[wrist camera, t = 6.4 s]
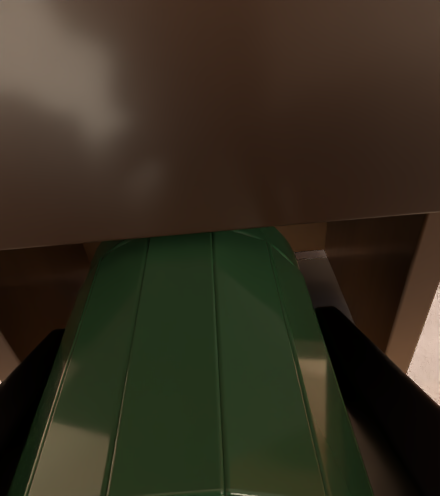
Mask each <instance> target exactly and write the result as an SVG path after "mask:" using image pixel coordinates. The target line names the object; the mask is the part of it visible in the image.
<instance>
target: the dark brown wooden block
mask: <svg viewBox="0 0 440 496" xmlns="http://www.w3.org/2000/svg"><path fill="white" fill-rule="evenodd" d="M435 212H440V0H0V250H11V249H22V248H34V247H45V246H57V245H68V244H80V243H91V242H103V241H114V240H125V239H137V238H148V237H160V236H171V235H183V234H194V233H206V232H217V231H229V230H240V229H252V228H263V227H275V226H286V225H298V224H309V223H321V222H332V221H344V220H355V219H367V218H378V217H389V216H401V215H412V214H424V213H435Z"/></svg>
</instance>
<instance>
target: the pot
mask: <svg viewBox="0 0 440 496" xmlns="http://www.w3.org/2000/svg"><path fill="white" fill-rule="evenodd" d="M7 496H374V493H373V489H372V486H371V483H370V480H369V477H368V474H367V471H366V468H365V465H364V462H363V458H362V455H361V452H360V449H359V446H358V443H357V440H356V437H355V434H354V431H353V428H352V424H351V421H350V418H349V415H348V412H347V409H346V406H345V403H344V400H343V397H342V394H341V390H340V387H339V384H338V381H337V378H336V375H335V372H334V369H333V366H332V363H331V360H330V356H329V353H328V350H327V347H326V344H325V341H324V338H323V335H322V332H321V329H320V325H319V322H318V319H317V316H316V313H315V310H314V307H313V304H312V301H311V298H310V295H309V291H308V288H307V285H306V282H305V279H304V276H303V275H302V273H301V271H300V267H299V264H298V261H297V259H296V256H295V254H294V251H293V249H292V248H291V246H290V244H289V243H288V241H287V240H286V239H285V237H284V236H283V235H282V234H281V233H280V232H279V231H278V230H277V229H276V228H275V227H263V228H252V229H240V230H229V231H217V232H206V233H194V234H183V235H171V236H160V237H148V238H137V239H125V240H114V241H103V242H101V243H100V245H99V246H98V248H97V250H96V252H95V254H94V256H93V258H92V261H91V264H90V267H89V270H88V273H87V276H86V279H85V282H84V284H83V285H82V287H81V288H80V290H79V292H78V294H77V297H76V300H75V303H74V306H73V309H72V312H71V315H70V317H69V320H68V323H67V326H66V329H65V332H64V335H63V337H62V340H61V343H60V346H59V349H58V352H57V355H56V358H55V360H54V363H53V366H52V369H51V372H50V375H49V378H48V381H47V383H46V386H45V389H44V392H43V395H42V398H41V401H40V403H39V406H38V409H37V412H36V415H35V418H34V421H33V424H32V426H31V429H30V432H29V435H28V438H27V441H26V444H25V447H24V449H23V452H22V455H21V458H20V461H19V464H18V467H17V469H16V472H15V475H14V478H13V481H12V484H11V487H10V490H9V492H8V495H7Z"/></svg>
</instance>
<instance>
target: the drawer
mask: <svg viewBox="0 0 440 496" xmlns="http://www.w3.org/2000/svg"><path fill="white" fill-rule="evenodd" d="M275 228H276V229H277V230H278V231H279V232H280V233H281V234H282V235H283V236H284V237H285V239H286V240H287V241H288V243H289V244H290V246H291V248H292V249H293V251H294V252H303V251H314V250H324V251H325V253H326V255H327V257H324V258H312V259H300V260H297V261H298V264H299V267H300V271H301V273H302V275H303V276H304V279H305V282H306V285H307V288H308V291H309V295H310V298H311V301H312V304H313V307H314V310H315V308H316V307H322V306H335V307H336V308H338V309H339V310H340V311H341V312H342V313H343V314H344V315H345V316H346V317H347V318H348V319H349V320H350V321H351V322H352V323H353V324H354V325H355V326H356V327H357V328H358V329H359V330H361V331H362V332H363V333H364V334H365V335H366V336H367V337H368V338H369V339H370V340H371V341H372V342H373V343H374V344H375V345H376V346H377V347H378V348H379V349H380V350H381V351H382V352H383V353H384V354H386V355H387V356H388V357H389V358H390V359H391V360H392V361H393V362H394V363H395V364H396V365H397V366H398V367H399V368H400V369H401V370H402V371H403V372H404V373H405V374H406V373H407V370H408V368H409V365H410V362H411V359H412V357H413V354H414V351H415V348H416V346H417V343H418V340H419V337H420V335H421V332H422V329H423V326H424V324H425V321H426V318H427V315H428V312H429V310H430V307H431V304H432V301H433V299H434V296H435V293H436V290H437V288H438V285H439V282H440V212H435V213H424V214H412V215H401V216H389V217H378V218H367V219H355V220H344V221H332V222H321V223H309V224H298V225H286V226H275ZM100 243H101V242H91V243H80V244H68V245H57V246H45V247H34V248H22V249H11V250H0V380H1V382H3V381H4V380H5V379H6V378H7V376H8V375H9V374H10V373H11V372H12V371H13V370H14V369H15V368H16V367H17V366H18V365H19V364H20V363H21V362H22V361H23V360H24V359H25V358H26V357H27V356H28V355H29V354H30V353H31V352H32V351H33V350H34V349H35V347H36V346H37V345H38V344H39V343H40V342H41V341H42V340H43V339H44V338H45V337H46V336H47V335H48V334H49V333H50V332H51V331H53V330H55V329H63V328H66V326H67V323H68V320H69V317H70V315H71V312H72V309H73V306H74V303H75V300H76V297H77V294H78V292H79V290H80V288H81V287H82V285H83V284H84V282H85V279H86V276H87V273H88V270H89V267H90V264H91V261H92V258H93V256H94V254H95V252H96V250H97V248H98V246H99V245H100Z"/></svg>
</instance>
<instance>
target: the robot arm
mask: <svg viewBox="0 0 440 496" xmlns="http://www.w3.org/2000/svg"><path fill="white" fill-rule="evenodd" d="M315 313H316V316H317V319H318V322H319V325H320V329H321V332H322V335H323V338H324V341H325V344H326V347H327V350H328V353H329V356H330V360H331V363H332V366H333V369H334V372H335V375H336V378H337V381H338V384H339V387H340V390H341V394H342V397H343V400H344V403H345V406H346V409H347V412H348V415H349V418H350V421H351V424H352V428H353V431H354V434H355V437H356V440H357V443H358V446H359V449H360V452H361V455H362V458H363V462H364V465H365V468H366V471H367V474H368V477H369V480H370V483H371V486H372V489H373V493H374V496H440V406H439V405H438V404H437V403H436V402H435V401H433V400H432V399H431V398H430V397H429V396H428V395H427V394H426V393H425V392H424V391H423V390H422V389H421V388H420V387H419V386H418V385H417V384H416V383H415V382H414V381H413V380H412V379H411V378H410V377H408V376H407V375H406V374H405V373H404V372H403V371H402V370H401V369H400V368H399V367H398V366H397V365H396V364H395V363H394V362H393V361H392V360H391V359H390V358H389V357H388V356H387V355H386V354H384V353H383V352H382V351H381V350H380V349H379V348H378V347H377V346H376V345H375V344H374V343H373V342H372V341H371V340H370V339H369V338H368V337H367V336H366V335H365V334H364V333H363V332H362V331H361V330H359V329H358V328H357V327H356V326H355V325H354V324H353V323H352V322H351V321H350V320H349V319H348V318H347V317H346V316H345V315H344V314H343V313H342V312H341V311H340V310H339V309H338V308H336V307H335V306H322V307H316V308H315ZM65 329H66V328H63V329H55V330H53V331H51V332H50V333H49V334H48V335H47V336H46V337H45V338H44V339H43V340H42V341H41V342H40V343H39V344H38V345H37V346H36V347H35V349H34V350H33V351H32V352H31V353H30V354H29V355H28V356H27V357H26V358H25V359H24V360H23V361H22V362H21V363H20V364H19V365H18V366H17V367H16V368H15V369H14V370H13V371H12V372H11V373H10V374H9V375H8V376H7V378H6V379H5V380H4V381H3V382H2V383H1V384H0V496H7V495H8V492H9V490H10V487H11V484H12V481H13V478H14V475H15V472H16V469H17V467H18V464H19V461H20V458H21V455H22V452H23V449H24V447H25V444H26V441H27V438H28V435H29V432H30V429H31V426H32V424H33V421H34V418H35V415H36V412H37V409H38V406H39V403H40V401H41V398H42V395H43V392H44V389H45V386H46V383H47V381H48V378H49V375H50V372H51V369H52V366H53V363H54V360H55V358H56V355H57V352H58V349H59V346H60V343H61V340H62V337H63V335H64V332H65Z"/></svg>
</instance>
